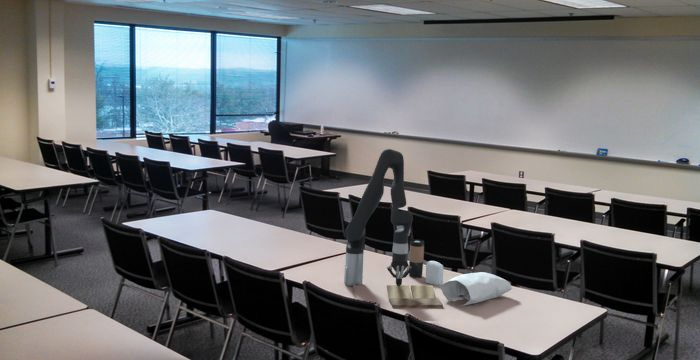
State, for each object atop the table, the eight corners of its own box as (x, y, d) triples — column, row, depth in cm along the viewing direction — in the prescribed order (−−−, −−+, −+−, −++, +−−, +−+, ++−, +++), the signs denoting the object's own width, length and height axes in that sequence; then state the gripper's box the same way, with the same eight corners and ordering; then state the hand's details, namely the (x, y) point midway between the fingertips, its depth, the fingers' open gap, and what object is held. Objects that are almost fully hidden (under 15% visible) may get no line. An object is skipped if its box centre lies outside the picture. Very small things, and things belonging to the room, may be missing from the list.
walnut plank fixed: (392, 307, 298) (392, 304, 297) (389, 301, 306) (389, 298, 306) (442, 307, 300) (442, 304, 300) (438, 301, 309) (438, 298, 309)
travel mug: (423, 275, 354) (425, 240, 351) (420, 278, 347) (422, 243, 344) (410, 273, 356) (412, 238, 353) (407, 277, 349) (408, 241, 346)
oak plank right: (413, 300, 308) (413, 298, 308) (410, 287, 316) (410, 285, 315) (435, 300, 310) (436, 298, 309) (432, 287, 317) (432, 285, 316)
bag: (517, 293, 319) (479, 291, 294) (489, 313, 328) (450, 313, 303) (498, 261, 329) (459, 257, 304) (472, 282, 338) (432, 280, 313)
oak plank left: (388, 300, 307) (389, 298, 306) (386, 287, 315) (386, 285, 314) (411, 300, 308) (411, 298, 308) (408, 287, 316) (408, 285, 315)
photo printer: (424, 282, 341) (425, 259, 339) (429, 280, 344) (430, 258, 342) (438, 287, 333) (439, 264, 332) (443, 286, 336) (445, 263, 334)
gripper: (388, 253, 306) (386, 288, 309) (415, 253, 308) (413, 287, 311) (385, 249, 314) (384, 283, 316) (411, 249, 315) (410, 283, 318)
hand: (398, 285), depth 313 cm, fingers closed
